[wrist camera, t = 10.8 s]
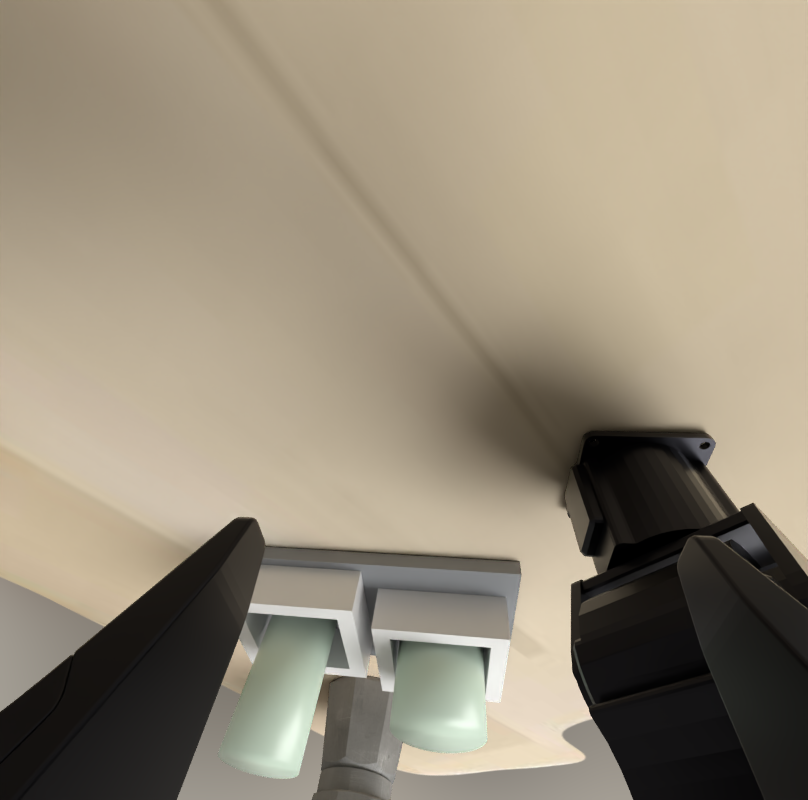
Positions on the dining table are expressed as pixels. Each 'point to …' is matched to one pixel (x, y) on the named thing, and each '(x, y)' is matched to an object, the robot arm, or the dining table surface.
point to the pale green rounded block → (279, 698)
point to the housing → (403, 631)
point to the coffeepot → (358, 742)
